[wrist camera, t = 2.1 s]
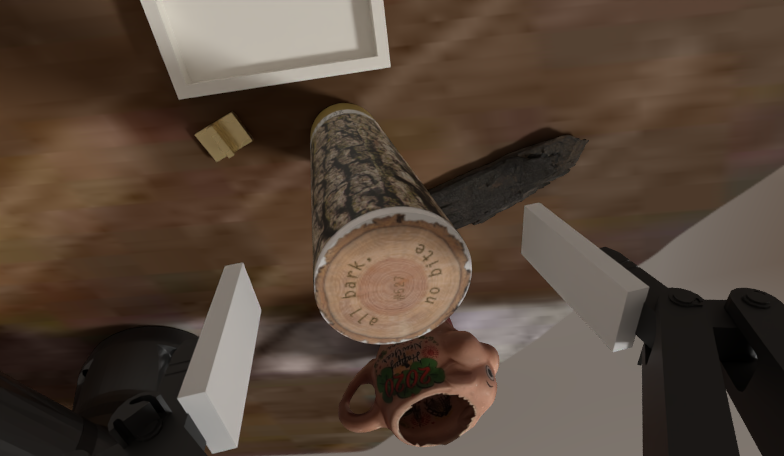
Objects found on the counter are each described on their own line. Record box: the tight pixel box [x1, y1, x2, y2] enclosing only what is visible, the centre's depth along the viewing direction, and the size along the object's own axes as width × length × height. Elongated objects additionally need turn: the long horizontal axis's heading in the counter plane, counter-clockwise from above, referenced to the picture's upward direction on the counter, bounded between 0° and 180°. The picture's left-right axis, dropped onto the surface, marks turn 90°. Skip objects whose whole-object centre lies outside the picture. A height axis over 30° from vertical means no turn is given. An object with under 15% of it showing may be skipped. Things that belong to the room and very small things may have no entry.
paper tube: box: [310, 103, 472, 344], centre depth 26 cm, size 7×7×25 cm
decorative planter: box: [338, 318, 499, 447], centre depth 45 cm, size 20×12×14 cm, turn 111°
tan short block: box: [194, 111, 254, 162], centre depth 34 cm, size 4×3×3 cm
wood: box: [427, 135, 589, 229], centre depth 43 cm, size 22×7×3 cm, turn 111°
